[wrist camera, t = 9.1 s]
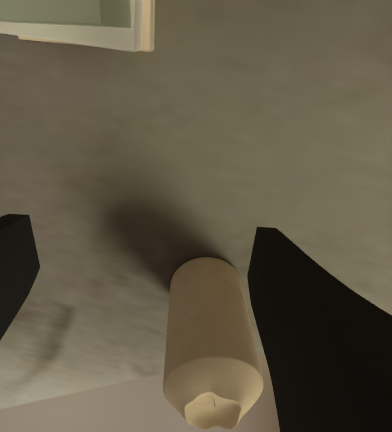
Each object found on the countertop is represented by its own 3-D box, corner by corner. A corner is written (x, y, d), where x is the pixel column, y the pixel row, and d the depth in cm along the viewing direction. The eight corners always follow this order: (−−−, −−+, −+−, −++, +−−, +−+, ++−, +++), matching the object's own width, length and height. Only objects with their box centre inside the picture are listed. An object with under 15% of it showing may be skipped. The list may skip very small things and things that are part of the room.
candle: (214, 243, 23) (231, 368, 14) (253, 289, 25) (288, 421, 17) (155, 279, 25) (138, 411, 16) (197, 319, 27) (202, 455, 18)
